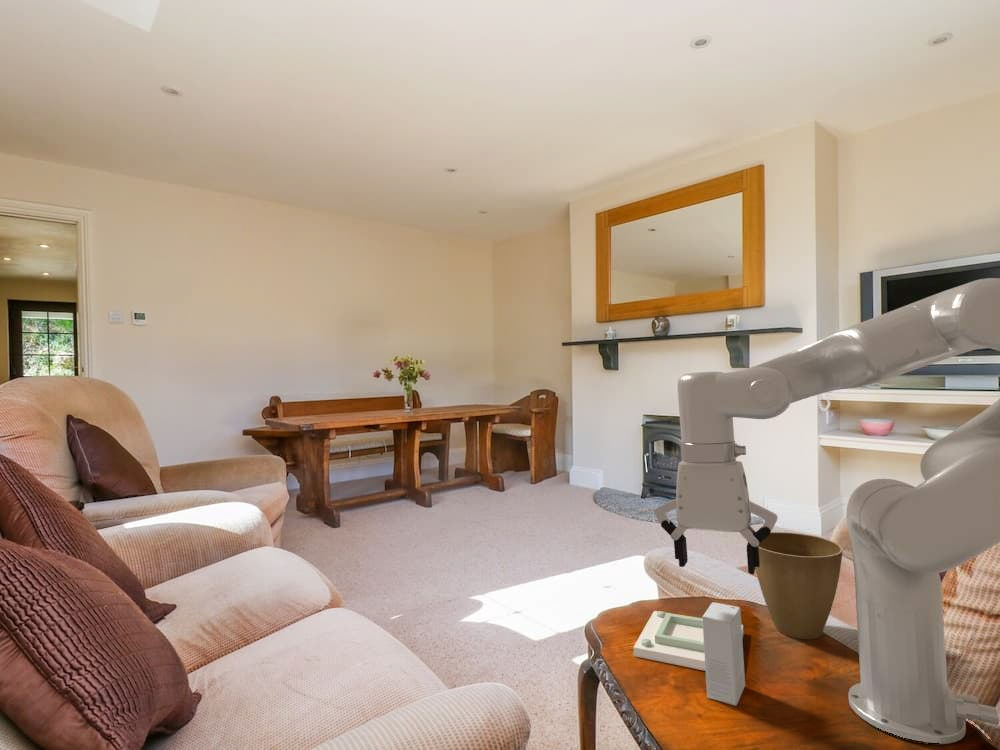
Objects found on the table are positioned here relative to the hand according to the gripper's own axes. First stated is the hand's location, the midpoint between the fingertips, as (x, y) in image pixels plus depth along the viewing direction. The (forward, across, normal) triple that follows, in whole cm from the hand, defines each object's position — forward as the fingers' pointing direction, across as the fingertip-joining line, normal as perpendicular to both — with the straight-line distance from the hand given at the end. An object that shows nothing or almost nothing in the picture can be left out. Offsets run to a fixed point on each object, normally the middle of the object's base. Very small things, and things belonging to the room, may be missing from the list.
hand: (716, 567), depth 80 cm
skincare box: (+18, 0, 0) cm, 19 cm away
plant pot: (+19, -10, -26) cm, 33 cm away
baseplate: (+18, +7, -13) cm, 23 cm away
